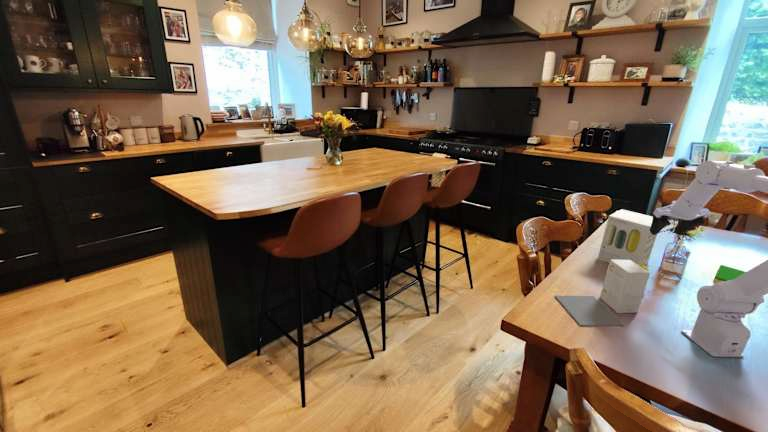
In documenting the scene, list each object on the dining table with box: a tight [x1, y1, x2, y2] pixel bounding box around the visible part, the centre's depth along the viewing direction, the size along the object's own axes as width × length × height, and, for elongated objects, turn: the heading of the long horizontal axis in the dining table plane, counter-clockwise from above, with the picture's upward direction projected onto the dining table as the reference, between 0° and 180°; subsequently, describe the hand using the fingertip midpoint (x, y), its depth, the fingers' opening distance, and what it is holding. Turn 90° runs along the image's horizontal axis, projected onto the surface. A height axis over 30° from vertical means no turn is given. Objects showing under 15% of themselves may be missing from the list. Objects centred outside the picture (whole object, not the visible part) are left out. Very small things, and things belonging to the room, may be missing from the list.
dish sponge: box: [712, 264, 747, 284], centre depth 122 cm, size 7×14×2 cm, turn 132°
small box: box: [599, 259, 651, 314], centre depth 103 cm, size 8×6×13 cm
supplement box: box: [597, 208, 658, 266], centre depth 130 cm, size 13×13×18 cm
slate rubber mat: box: [554, 295, 625, 327], centre depth 102 cm, size 14×12×1 cm
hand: (664, 232), depth 106 cm, fingers open, 7 cm apart
